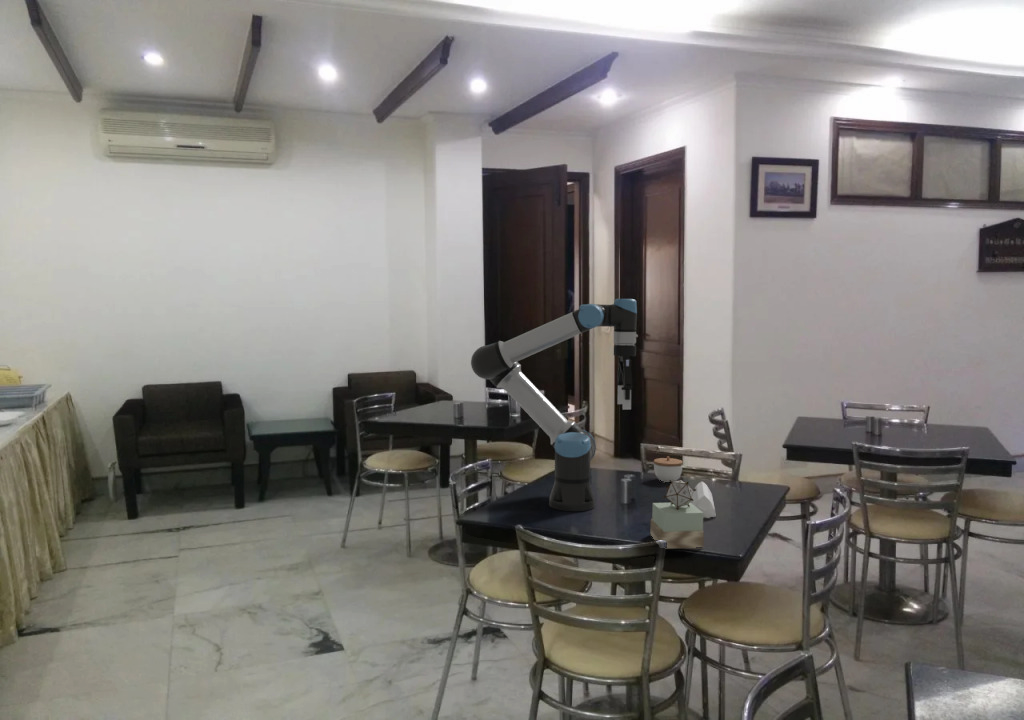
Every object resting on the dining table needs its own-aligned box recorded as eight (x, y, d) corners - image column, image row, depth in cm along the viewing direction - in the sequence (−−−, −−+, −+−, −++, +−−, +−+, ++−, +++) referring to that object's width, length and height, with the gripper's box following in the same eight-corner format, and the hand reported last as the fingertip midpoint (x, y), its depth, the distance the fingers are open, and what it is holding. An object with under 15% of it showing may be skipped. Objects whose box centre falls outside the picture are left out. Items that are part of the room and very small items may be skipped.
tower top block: (663, 531, 204) (664, 513, 204) (652, 520, 215) (652, 503, 215) (702, 530, 205) (703, 512, 205) (689, 519, 216) (689, 502, 216)
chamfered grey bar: (684, 488, 258) (685, 506, 234) (703, 478, 256) (706, 495, 233) (695, 507, 257) (697, 527, 234) (714, 497, 256) (718, 517, 232)
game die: (686, 521, 210) (704, 498, 204) (658, 511, 208) (676, 488, 203) (682, 498, 217) (700, 475, 212) (656, 489, 216) (673, 465, 210)
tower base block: (659, 549, 205) (660, 531, 204) (650, 536, 217) (650, 519, 216) (703, 549, 205) (703, 531, 205) (691, 536, 217) (692, 519, 217)
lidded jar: (648, 478, 288) (649, 454, 287) (674, 477, 290) (675, 453, 290) (660, 485, 277) (661, 460, 277) (687, 483, 280) (687, 458, 279)
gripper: (641, 346, 241) (640, 411, 243) (630, 342, 266) (629, 402, 268) (618, 346, 241) (617, 411, 243) (609, 342, 266) (608, 401, 268)
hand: (624, 406), depth 255 cm, fingers open, 13 cm apart
